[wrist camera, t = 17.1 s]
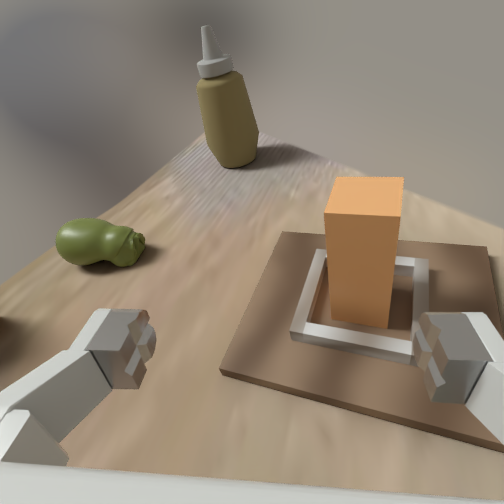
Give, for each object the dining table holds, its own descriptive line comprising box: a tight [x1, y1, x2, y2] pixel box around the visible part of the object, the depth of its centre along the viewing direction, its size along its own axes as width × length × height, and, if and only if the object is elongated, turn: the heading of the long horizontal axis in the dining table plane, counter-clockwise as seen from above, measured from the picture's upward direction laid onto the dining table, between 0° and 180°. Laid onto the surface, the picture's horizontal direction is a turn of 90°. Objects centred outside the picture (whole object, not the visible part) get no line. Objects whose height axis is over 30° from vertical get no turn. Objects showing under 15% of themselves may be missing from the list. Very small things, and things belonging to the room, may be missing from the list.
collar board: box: [219, 231, 504, 453], centre depth 26 cm, size 18×16×2 cm
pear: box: [56, 218, 145, 267], centre depth 38 cm, size 6×5×10 cm
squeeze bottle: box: [196, 25, 259, 168], centre depth 46 cm, size 8×8×18 cm
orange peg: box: [324, 177, 404, 329], centre depth 22 cm, size 4×4×10 cm
